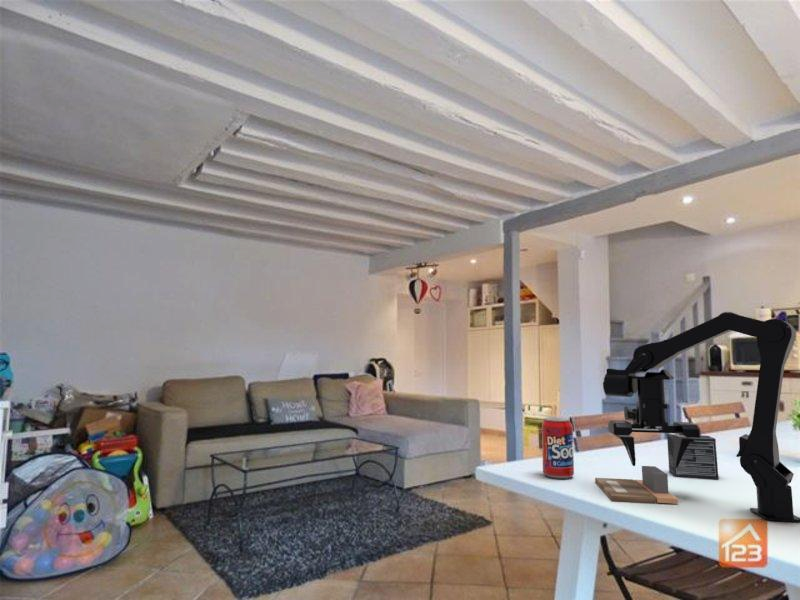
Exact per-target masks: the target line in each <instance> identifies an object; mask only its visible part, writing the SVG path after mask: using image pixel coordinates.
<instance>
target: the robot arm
mask: <svg viewBox="0 0 800 600" xmlns="http://www.w3.org/2000/svg"><path fill="white" fill-rule="evenodd" d="M730 332H735V333H739V334H742V335H747V336H751V337H753V338H756V343H757V351H758V355H759V363H760V365H759V371H758V379H757V380H758V381H757V387H756V395H755V402H754V403H755V404H754V409H753V417H752V425H751V430H750V432H749V434H748V433H747V434H746V433H745V434H743V435H741V436H740V437H738V444H739V445H738V446H739V449H738V452H737V454H736V455H735V456H736V457H737V458H739V464H740V466H741V468H742V469H743V471H744V472H745V473H747V474H748V475H749V476H750V478H751V479H752V481H753V484H754V485H755V487H756V488H755V489H756V503H757V507H749V511H751V512H752V513H754V514H755V515H757V516H760V517H761V518H762V519H764V520H766V521H776V522H778V521H779V522H792V523H793V522H795V523H800V517H799V516H797V515H795V514H794V506H793V491H792V486H791V485H789V484H791V483H792V480H793V477H794V473H793V472H792V471H791V469H789V468H788V467H786V465H785V464H783V463H782V462H781V461H780V450H779V442H778V437H777V424H778V417H779V410H780V403H781V394H782V387H783V380H784V372H785V365H786V363H787V361H788V359H789V356H790V354H791V352H792V349H793V346H794V344H795V341H796V339H797V331H796V328H795V327H794V326H793V325H792V324H791V323H789V322H787V321H784V320H782V319H778V318H769V319H767V320H760V319H756V318H752V317H748V316H743V315H740V314H738V313H736V312H734V311H733V312H732V311H724V312H722V313H720V314H719V315H716V316H715V317H713V318H711V319H709V320H706V321H704V322H702V323H700V324H698V325H696V326H694V327H692V328H689V329H687V330H685V331H683V332H680V333H678V334H676V335H674V336H672V337H670V338H666V339H663V340H657V341H653V342H649V343H647V344H646V343H645V344H642V345H639V346H637V347H636V348H635V349H634V351H633V354H632V360H631V361H630V362H629V364H628V365H627V366H626V367H625V369H616V368H606V374H605V375H604V378H603V382H602V387H603V392H604V394H605V395H606V396H607V397H623V398H624V397H625V398H632V397H633V396H634V394H636V393H637V402H636V408H634V406H633V405H632V406H631V405H630V406H629V405H628V406H624V407H623V408H624V409H623V415H624V420H618V419H617V420H616V419H615V420H612V419H610V420H609V422H608V424H607V426H608V427H607V429H608V433H610V434H612V435H613V436H615V437H616V438H618V439H620V440H621V442H622V443H623V445H624V448H625V450H626V453H627V456H628V458H629V461H630V463H631V466H632V467H635V466H636V448H635V447H636V446H635V438H634V436H633V435H632V433H647V434H649V433H656V434H675V435H672V438H673V442H674V454H673V461H674V467H675V468H678V466H679V463H680V461H681V459H682V456H683V454H684V452H685V450H686V449H687V447H688V445H689V444H690V442H691V441H695V439H693V438H700V437H701V435H702V433H701V428H700V426H699V425H698V424H696V423H692V422H688V421H685V422H684V421H673V423H672V425H671V424H669V422H667V412H666V411H667V409H668V404H667V403H666V396H665V395H666V394H665V380H666V381H669V380H671V381H672V380H674V378H675V377H674V375H672V374H670V372H668V370H667V369H662V367H664V366H666V365H667V364H668V363H670V362H672V361H673V360H674V359H675V358H676V357H677V356H679V355H680V354H682V353H684V352H686V351H688V350H691V349H693V348H696V347H698V346H700V345H702V344H705V343H707V342H709V341H712V340H713V339H716V338H718V337H720V336H722V335H725V334H728V333H730ZM660 368H661V370H660V371H659V372H657V371H656V372H655V371H653V372H652V371H650V370H659V369H660ZM644 373H645V374H644ZM636 374H644V376H643V375H642V376H641V375H636ZM630 421H632V423H631V422H630ZM692 437H693V438H692Z"/></svg>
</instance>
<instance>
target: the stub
mask: <svg viewBox="0 0 800 600" xmlns="http://www.w3.org/2000/svg"><path fill="white" fill-rule="evenodd" d="M668 477H669V475H668V473H666V472H665V471H663V470H662V469H660V468H659V467H657V466H651V465H641V478H642V479H633V480H634V481H636V482H637V483H638V484H639V485H641V486H642V487H643V488H644V489H645V490H647V491H648V492H649V493H650V494H652V495H653V496H654V497H655V498H656V504H657V503H659V504H675V505H676V504H679V499H678V497H676V496H674V495H673V494H672V493H671V492H669V478H668Z"/></svg>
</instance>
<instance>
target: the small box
mask: <svg viewBox="0 0 800 600" xmlns="http://www.w3.org/2000/svg"><path fill="white" fill-rule="evenodd" d="M672 435H675V433H666V439H667V442H666V443H667V456H668V472H669V474H671V475H672V476H673V477H674V476H675V477H674V478H688V479H689V478H690V479H691V478H692V479H708V480H719V479H720V476H719V471H718V470H719V468H718V455H717V444H716V442H717V440H716V438H715V437H712V436H709V435H703V434H701V437H700V438H693V437H692V438H693V439H695V441H691V442H690V444H689V445H688V447H687V449H686V450H685V452H684V454H683V456H682V459H681V461H680V463H679V466H678V468H675V467H674V461H673V454H674V442H673V438H672Z"/></svg>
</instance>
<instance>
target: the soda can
mask: <svg viewBox="0 0 800 600" xmlns="http://www.w3.org/2000/svg"><path fill="white" fill-rule="evenodd" d="M543 420H544V421H543V422H542V423H541V441H542V442H541V443H542V444H541V446H542V447H541V449H542V450H541V451H542V454H541V456H542V473H543V474H544V475H545V476H547V477H549V478H552V479H558V480H566V479H570V478H571V477H573V476H574V475H575V464H574V463H575V459H574V457H575V456H574V426H573V424H572V423H571V419H570V418H566V417H559V416H557V417H556V416H550V417H549V416H548V417H544V419H543Z"/></svg>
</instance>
